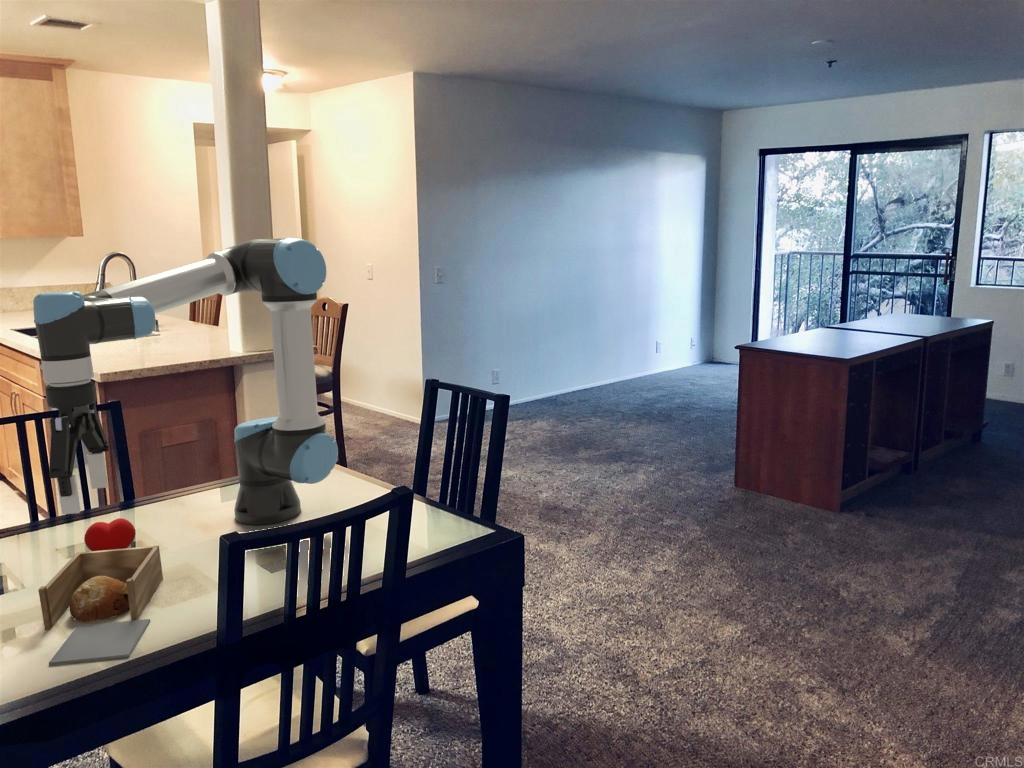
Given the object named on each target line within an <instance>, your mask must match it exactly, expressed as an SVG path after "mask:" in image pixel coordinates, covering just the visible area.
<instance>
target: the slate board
mask: <svg viewBox="0 0 1024 768" xmlns="http://www.w3.org/2000/svg"><path fill="white" fill-rule="evenodd" d="M150 623H151V618H144V619H137V620H133V621H131V620H126V621H125V620H123V621H115V622H114V621H113V622H106V623H95V624H84V625H82V624H81V625H76V627H75V628H74V629H73V631H71V633H70V635H69V636H68V637H67V638H66V640H65V641H64V642H63V643H62V645H61V646H60V647H59V649H58V650H57V651H56V653H55V654H54V655H53V656H52V657H51V659H50V660H49V661H48V666H59V665H69V664H78V663H86V662H95V661H104V660H105V661H106V660H113V659H114V660H115V659H116V660H117V659H122V658H123V659H124V658H130V656H131V655H132V653H133V651H134V650H135V648H136V646H137V644H138V643H139V641H140V640H141V638H142V636H143V634H144V633H145V631H146V630H147V628H148V626H149V625H150Z"/></svg>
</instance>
